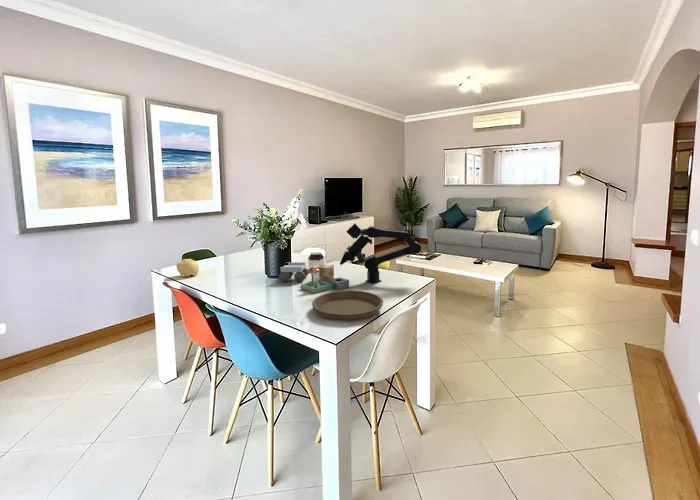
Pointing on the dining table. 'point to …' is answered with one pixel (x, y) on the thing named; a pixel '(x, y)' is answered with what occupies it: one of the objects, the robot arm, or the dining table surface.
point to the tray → (310, 288)
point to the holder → (339, 283)
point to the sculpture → (188, 267)
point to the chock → (324, 272)
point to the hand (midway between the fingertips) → (340, 264)
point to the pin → (316, 278)
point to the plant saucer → (347, 305)
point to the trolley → (291, 268)
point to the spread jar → (315, 258)
